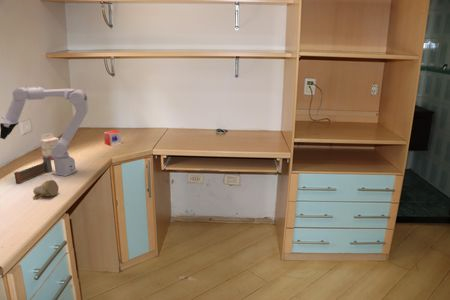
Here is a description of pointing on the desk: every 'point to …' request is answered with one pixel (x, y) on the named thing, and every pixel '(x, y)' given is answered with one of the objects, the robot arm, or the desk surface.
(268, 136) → the desk surface
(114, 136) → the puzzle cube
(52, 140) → the ink cartridge box
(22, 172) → the brown flat bar
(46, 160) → the gate post
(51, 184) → the grey rounded lump
